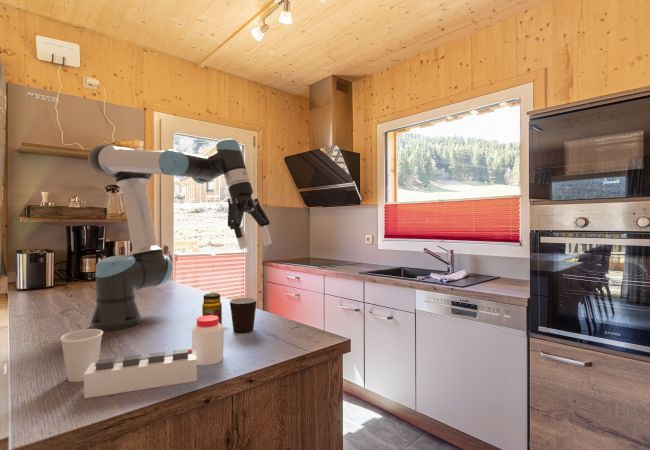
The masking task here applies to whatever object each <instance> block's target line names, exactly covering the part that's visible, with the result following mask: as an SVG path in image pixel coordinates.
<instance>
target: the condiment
mask: <svg viewBox="0 0 650 450" xmlns="http://www.w3.org/2000/svg"><path fill="white" fill-rule="evenodd" d="M222 304H223V303H222V302H221V294H220V293H219V292H218V293H217V292H214V293H213V292H211V293H205V294H204V295H203V303H202V306H201V308H202V310H201V311H202V312H201V313H202V316H207V315H215V316H218V317H219V323H220V324H221V325H222V326H223V312H222V310H223V309H222V308H223V307H222V306H223V305H222ZM224 330H227V327H224V326H223V331H224Z"/></svg>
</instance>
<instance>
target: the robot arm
mask: <svg viewBox="0 0 650 450" xmlns="http://www.w3.org/2000/svg"><path fill="white" fill-rule="evenodd" d="M215 148H216V152H214V153H213V154H210V155H208V156H204V155H203V156H202V155H198V154H193V153H187V152H185V151H181V150H177V149H166V150H150V149H136V148H130V147H129V148H128V147H124V146H118V145H113V144H108V143H105V144H99V145H96V146H93V148H92V149H91V150H90V151H89V153H88V157H87V161H88V165H89V167H90V168H91V169H92V170H93V171H94V172H95V173H96V174H99V175H101V176H104V177H110V178H115V183H116V186H117V187H119V188H120V189H121V192H122V197H123V202H124V203H123V204H124V209H125V213H126V220H127V227H128V232H129V238H130V241H131V243H130V244H131V249H132V250H131V252H130V253H129V254H123V255H114V256H109V257H106V258H102V259H100V260H98V262H96V264H95V273H94V275H95V296H96V297H95V298H96V299H95V300H96V304H95V307H94V309H93V313H92V316H91V318H90V324H89V326H90V328H89V329H99V330H102V331H103V332H105V331H106V332H108V331H110V332H111V331H118V330H123V329H124V330H125V329H128V328H131V327H135V326H137V325H139V324H140V323H141V322H142V316H141V315H142V314H141V312H140V309H139V307H138V304H137V302H136V291H138V290H144V289H148V288H153V287H157V286H160V285H164V284H165V283H166V282H167V281H168V280H169V279H170V277H171V276H172V273H173V263H172V260H171V258H169V256H168V255H166V254H164V251H163V248H161V247H160V246H159V245H158V241H157V237H156V232H155V231H156V230H155V225H154V224H155V223H154V219H153V215H152V214H153V213H152V208H151V204H150V197H149V192H148V185H149V184H150V182H151V178H152V177H153V176H154V175H163V176H164V175H166V176H167V175H168V176H177V177H185V178H187V177H188V178H192V180H193V181H195V182H196V183H197V184H201V185H202V184H206V183H209V182H211V181H213V180H215V179H217V178H218V177H220V176H224V179H225V183H226V186H227V187H228V194H229V197H230V198H228V199H227V203H228V206H227V207H228V208H227V209H228V210H227V212H228V213H227V226H228V227H229V228H230V230H234V234H235V237H236V239H237V243H238V246H239V249H240V250H242V249H246V248H248V247H249V243H248V240H247V236H246V233H245V230H244V226H242V221H243V217H244V213H247V214H248V215H250V216H251V217H252V219H254V221H255V222H256V223H257V224H258V225H259V228H258V229H259V232H260V237H261V239H262V241H263V246H264V247H265V246H268V245H271V244H272V239H271V236H270V232H269V229H268V225H270V224H271V223H270V219H269V218H268V216H267V214H266V212H265V211H264V209H263V207H262V206H261V204H260V201H259V198H258V197H256V198H254V199H253V198H252V195H253V194H254V190H253V186H252V183H251V182H250V178H249V174H248V171H247V167H246V163H245V160H244V157H243V151H242V150H241V147H240V144H239V141H238V140H236V139H234V138H224V139H221V140H219V141H218V142H217V143H216V145H215Z"/></svg>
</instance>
